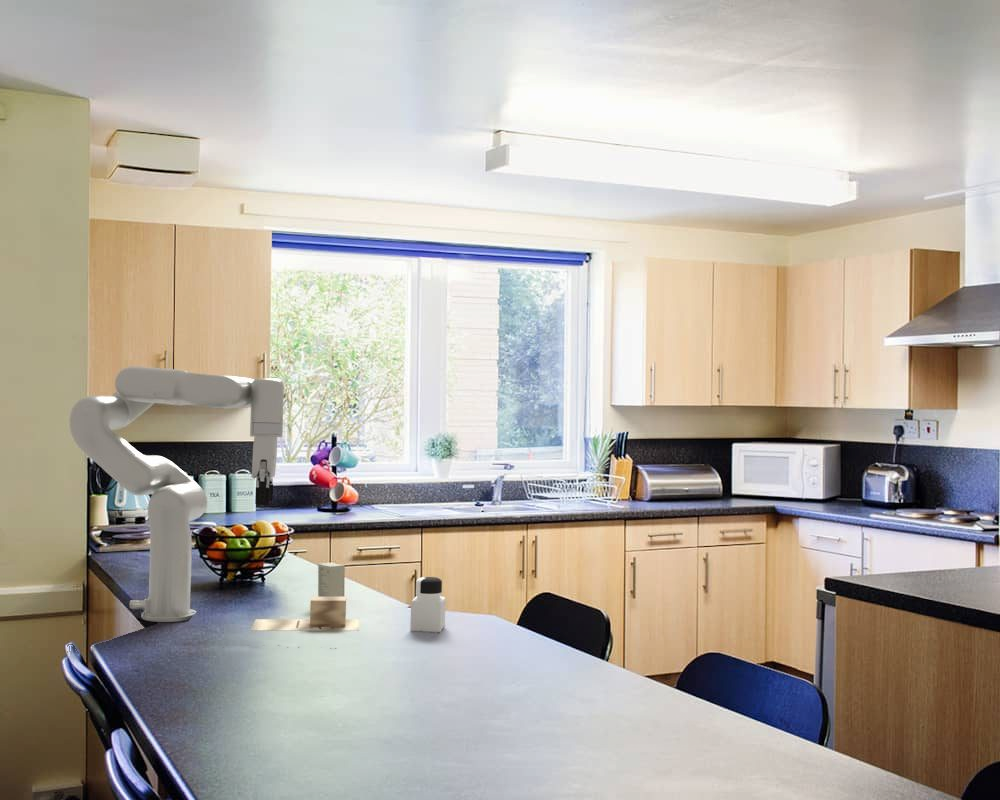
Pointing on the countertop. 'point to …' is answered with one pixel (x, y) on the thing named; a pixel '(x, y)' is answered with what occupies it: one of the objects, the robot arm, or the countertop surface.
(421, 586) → the medicine bottle
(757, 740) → the countertop surface
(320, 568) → the skincare box
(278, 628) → the board
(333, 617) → the block
